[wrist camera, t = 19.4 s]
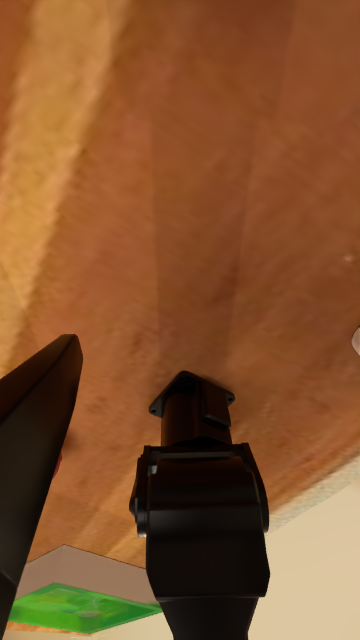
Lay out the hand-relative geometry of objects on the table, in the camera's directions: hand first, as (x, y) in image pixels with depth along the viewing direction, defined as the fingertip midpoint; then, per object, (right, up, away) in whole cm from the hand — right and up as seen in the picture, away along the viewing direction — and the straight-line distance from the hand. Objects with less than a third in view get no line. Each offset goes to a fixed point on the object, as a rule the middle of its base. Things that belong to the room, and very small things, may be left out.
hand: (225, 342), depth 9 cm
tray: (-21, -52, +51) cm, 75 cm away
